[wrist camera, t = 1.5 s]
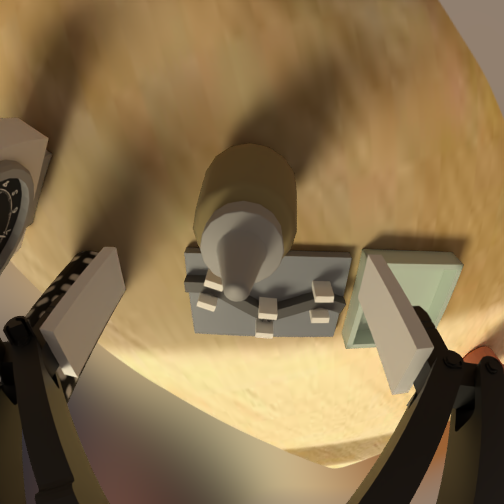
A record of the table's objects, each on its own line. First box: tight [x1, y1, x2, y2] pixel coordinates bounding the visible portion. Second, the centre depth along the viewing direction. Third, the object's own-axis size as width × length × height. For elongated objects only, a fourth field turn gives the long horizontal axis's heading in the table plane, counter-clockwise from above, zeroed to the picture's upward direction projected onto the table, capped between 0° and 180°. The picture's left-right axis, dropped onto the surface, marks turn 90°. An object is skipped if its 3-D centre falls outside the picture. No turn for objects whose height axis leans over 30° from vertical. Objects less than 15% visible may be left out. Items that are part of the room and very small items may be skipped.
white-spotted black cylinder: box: [7, 251, 124, 403], centre depth 27 cm, size 8×8×20 cm
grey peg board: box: [184, 248, 352, 339], centre depth 34 cm, size 12×18×4 cm, turn 89°
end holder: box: [342, 249, 463, 349], centre depth 34 cm, size 13×13×3 cm
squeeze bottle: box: [193, 143, 297, 302], centre depth 21 cm, size 8×8×18 cm
